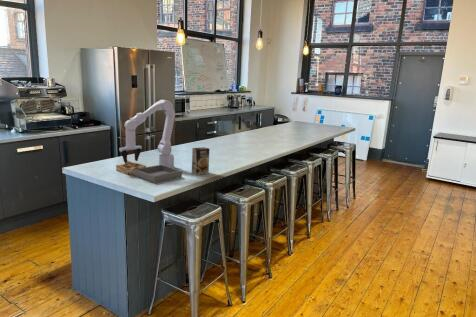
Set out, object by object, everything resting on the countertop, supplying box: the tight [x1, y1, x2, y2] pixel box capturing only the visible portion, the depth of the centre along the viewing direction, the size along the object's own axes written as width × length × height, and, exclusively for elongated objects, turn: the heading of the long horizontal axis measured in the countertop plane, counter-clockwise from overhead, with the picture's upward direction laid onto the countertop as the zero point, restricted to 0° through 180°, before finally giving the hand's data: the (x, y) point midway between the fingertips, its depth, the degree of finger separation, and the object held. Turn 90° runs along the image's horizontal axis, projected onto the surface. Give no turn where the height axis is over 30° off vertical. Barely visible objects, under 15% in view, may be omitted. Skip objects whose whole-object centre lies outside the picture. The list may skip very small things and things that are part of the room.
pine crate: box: [115, 159, 147, 176], centre depth 226 cm, size 13×13×6 cm
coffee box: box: [191, 146, 210, 176], centre depth 227 cm, size 9×6×16 cm
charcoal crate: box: [133, 164, 183, 184], centre depth 216 cm, size 20×20×4 cm
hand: (130, 161), depth 225 cm, fingers open, 7 cm apart
